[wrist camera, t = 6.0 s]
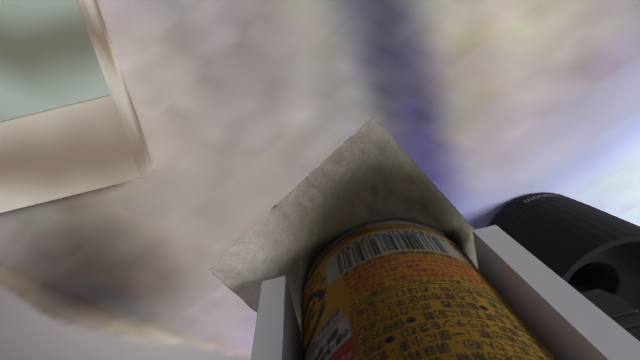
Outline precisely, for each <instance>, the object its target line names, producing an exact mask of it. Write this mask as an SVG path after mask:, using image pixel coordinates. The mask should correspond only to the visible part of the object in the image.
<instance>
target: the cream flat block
mask: <svg viewBox="0 0 640 360" xmlns="http://www.w3.org/2000/svg"><path fill="white" fill-rule="evenodd" d="M154 168H155V167H154V164H153V161H152V158H151V155H150V153H149V150H148V147H147V144H146V141H145V138H144V135H143V132H142V130H141V127H140V124H139V121H138V118H137V115H136V112H135V110H134V107H133V104H132V101H131V98H130V95H129V92H128V90H127V87H126V84H125V81H124V78H123V75H122V72H121V70H120V67H119V64H118V61H117V58H116V55H115V52H114V49H113V47H112V44H111V41H110V38H109V35H108V32H107V29H106V27H105V24H104V21H103V18H102V15H101V12H100V9H99V7H98V4H97V1H96V0H0V213H2V212H6V211H10V210H14V209H18V208H22V207H26V206H31V205H35V204H39V203H43V202H47V201H51V200H55V199H59V198H63V197H67V196H71V195H75V194H79V193H83V192H87V191H92V190H96V189H100V188H104V187H108V186H112V185H116V184H120V183H124V182H128V181H132V180H136V179H140V178H142V177H143V176H145V175H146V174H147V173H149V172H150V171H151V170H153V169H154Z"/></svg>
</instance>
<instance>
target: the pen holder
mask: <svg viewBox="0 0 640 360" xmlns="http://www.w3.org/2000/svg"><path fill="white" fill-rule="evenodd" d="M492 225H497V226H498V227H499V228H500V229H501V230H503V231H504V232H505V233H506V234H508V235H509V236H510V237H511V238H513V239H514V240H515V241H516V242H518V243H519V244H520V245H521V246H522V247H524V248H525V249H526V250H527V251H529V252H530V253H531V254H532V255H534V256H535V257H536V258H537V259H538V260H540V261H541V262H542V263H543V264H545V265H546V266H547V267H548V268H550V269H551V270H552V271H553V272H554V273H556V274H557V275H558V276H559V277H561V278H562V279H563V280H564V281H566V282H567V283H568V284H569V285H571V286H572V287H573V288H574V289H575V290H577V291H578V292H579V293H582V292H586V291H590V290H594V289H601V290H603V291H606V292H609V293H611V294H614V295H616V296H619V297H621V298H623V299H624V300H625V301H627V302H628V303H630V304H631V305H632V306H634V307H635V308H637V309H638V311H639V312H640V226H637V225H635V224H632V223H630V222H628V221H625V220H623V219H620V218H618V217H616V216H613V215H611V214H608V213H606V212H604V211H601V210H599V209H596V208H594V207H592V206H589V205H587V204H584V203H581V202H579V201H576V200H574V199H571V198H568V197H565V196H563V195H560V194H555V193H535V194H530V195H527V196H524V197H521V198H519V199H517V200H515V201H513V202H512V203H510V204H509V205H507V206H506V207H505V208H503V209H502V210H501V211H500V212H499V213H498V215H497V216H496V217H495V218H494V220H493V221H492V223H491V224H490V226H492Z"/></svg>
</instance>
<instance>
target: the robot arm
mask: <svg viewBox="0 0 640 360" xmlns="http://www.w3.org/2000/svg"><path fill="white" fill-rule="evenodd" d="M472 231H473V238H474V245H475V251H476V258H477V264H478V269H479V270H480V271H481V272H482V273H483V275H484V276H485V277H486V278H487V279H488V281H489V282H490V283H491V284H492V285H493V286H494V287H495V288H496V289H497V290H498V292H499V294H500V295H501V296H502V297H503V298H504V299H505V300H506V301H507V302H508V303H509V305H511V307H512V308H513V310H514V311H515V312H516V313H517V314H518V315H519V316H520V317H521V319H522V320H523V321H524V323H525V324H526V325H527V326H529V328H530V329H531V330H532V331H533V332H534V333H535V334H536V336H537V337H538V338H539V339H540V341H541V342H542V343H543V344H544V345H545V346H546V347H547V348H548V349H549V350H550V351H551V352H552V354H553V355H554V357H555V358H556V359H557V360H640V312H639V311H638V309H637V308H635V307H634V306H632V305H631V304H630V303H628V302H627V301H625V300H624V299H623V298H621V297H619V296H616V295H614V294H611V293H609V292H606V291H603V290H601V289H594V290H590V291H586V292H582V293H579V292H578V291H577V290H575V289H574V288H573V287H572V286H571V285H569V284H568V283H567V282H566V281H564V280H563V279H562V278H561V277H559V276H558V275H557V274H556V273H554V272H553V271H552V270H551V269H550V268H548V267H547V266H546V265H545V264H543V263H542V262H541V261H540V260H538V259H537V258H536V257H535V256H534V255H532V254H531V253H530V252H529V251H527V250H526V249H525V248H524V247H522V246H521V245H520V244H519V243H518V242H516V241H515V240H514V239H513V238H511V237H510V236H509V235H508V234H506V233H505V232H504V231H503V230H501V229H500V228H499V227H498V226H497V225H492V226H488V227H484V228H480V229H476V230H472ZM301 340H302V332H301V329H300V325H299V322H298V318H297V315H296V312H295V308H294V305H293V301H292V298H291V294H290V291H289V287H288V284H287V280H286V277H285V276H282V277H278V278H274V279H270V280H266V281H262V286H261V293H260V300H259V307H258V313H257V320H256V327H255V334H254V341H253V347H252V354H251V360H302V349H301Z"/></svg>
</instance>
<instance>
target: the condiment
mask: <svg viewBox="0 0 640 360" xmlns="http://www.w3.org/2000/svg"><path fill="white" fill-rule="evenodd" d="M472 230H475V229H474V228H473V227H472V226H471V225H470V224H469V223H468V222H467V220H466V219H465V218H464V217H463V216H462V215H461V214H460V213H459V212H458V210H457V209H456V208H455V207H454V206H453V205H452V204H451V203H450V201H449V200H448V199H447V198H446V197H445V196H444V195H443V194H442V193H441V192H440V191H439V190H438V188H437V187H436V186H435V185H434V184H433V183H432V182H431V180H430V179H429V178H428V177H427V176H426V175H425V174H424V173H423V172H422V171H421V169H420V168H419V167H418V166H417V165H416V164H415V162H414V161H413V160H412V159H411V158H410V157H409V156H408V155H407V154H406V153H405V152H404V151H403V149H402V148H401V147H400V146H399V145H398V144H397V143H396V142H395V140H394V139H393V138H392V137H391V136H390V135H389V134H388V133H387V132H386V131H385V129H384V128H383V127H382V126H381V125H380V124H379V123H378V122H377V121H376V119H375V118H374V117H373V118H371V119H370V120H369V121H368V122H367V123H366V124H365V125H363V126H362V127H361V128H360V129H359V130H358V131H357V132H356V133H355V134H354V135H353V136H351V137H350V138H349V139H347V140H346V141H345V142H344V143H343V144H342V145H341V146H340V147H339V148H338V149H337V150H336V151H334V152H333V153H332V154H331V155H330V156H329V157H328V158H327V159H326V160H325V161H324V162H323V163H322V164H321V165H320V166H319V167H317V168H316V169H315V170H314V171H312V172H311V173H310V174H309V175H308V176H307V177H306V178H305V179H304V180H303V181H302V182H301V183H300V184H298V185H297V186H296V187H295V188H294V189H293V190H292V191H291V192H290V193H289V194H288V195H287V196H286V197H285V198H283V199H282V200H281V201H280V202H279V203H278V204H277V205H275V206H274V207H273V208H272V209H271V210H270V211H269V212H268V213H267V214H266V215H265V216H264V217H263V218H262V219H261V220H260V221H259V222H258V223H257V224H256V225H255V226H254V227H253V228H252V229H250V230H249V231H248V232H247V233H246V234H245V235H244V236H243V237H241V238H240V239H239V240H238V241H237V242H236V243H235V244H234V245H233V246H232V247H231V248H230V249H229V250H228V251H227V252H226V253H225V254H224V255H223V256H222V257H220V258H219V259H218V260H217V261H216V262H215V263H214V264H213V265H212V266H211V267H210V268H209V269H208V270H209V271H210V272H211V273H212V274H214V275H215V276H216V277H217V278H218V279H219V280H220V281H221V282H222V283H223V284H224V285H225V286H227V287H228V288H229V289H230V290H232V291H233V292H234V293H236V294H237V295H238V296H239V297H240V298H241V299H243V300H244V301H245V303H246V304H247V305H248V306H249V307H250V308H252V309H253V310H254V311H256V312H257V313H258V307H259V300H260V293H261V286H262V281H266V280H270V279H274V278H278V277H282V276H285V277H286V280H287V284H288V287H289V291H290V294H291V298H292V301H293V305H294V308H295V312H296V315H297V318H298V322H299V325H300V329H301V332H302V340H301V349H302V360H557V359H556V358H555V357H554V355H553V354H552V352H551V351H550V350H549V349H548V348H547V347H546V346H545V345H544V344H543V343H542V342H541V341H540V339H539V338H538V337H537V336H536V334H535V333H534V332H533V331H532V330H531V329H530V328H529V326H527V325H526V324H525V323H524V321H523V320H522V319H521V317H520V316H519V315H518V314H517V313H516V312H515V311H514V310H513V308H512V307H511V305H509V303H508V302H507V301H506V300H505V299H504V298H503V297H502V296H501V295H500V294H499V292H498V290H497V289H496V288H495V287H494V286H493V285H492V284H491V283H490V282H489V281H488V279H487V278H486V277H485V276H484V275H483V273H482V272H481V271H480V270H479V269H478V264H477V258H476V251H475V245H474V238H473V231H472Z"/></svg>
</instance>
